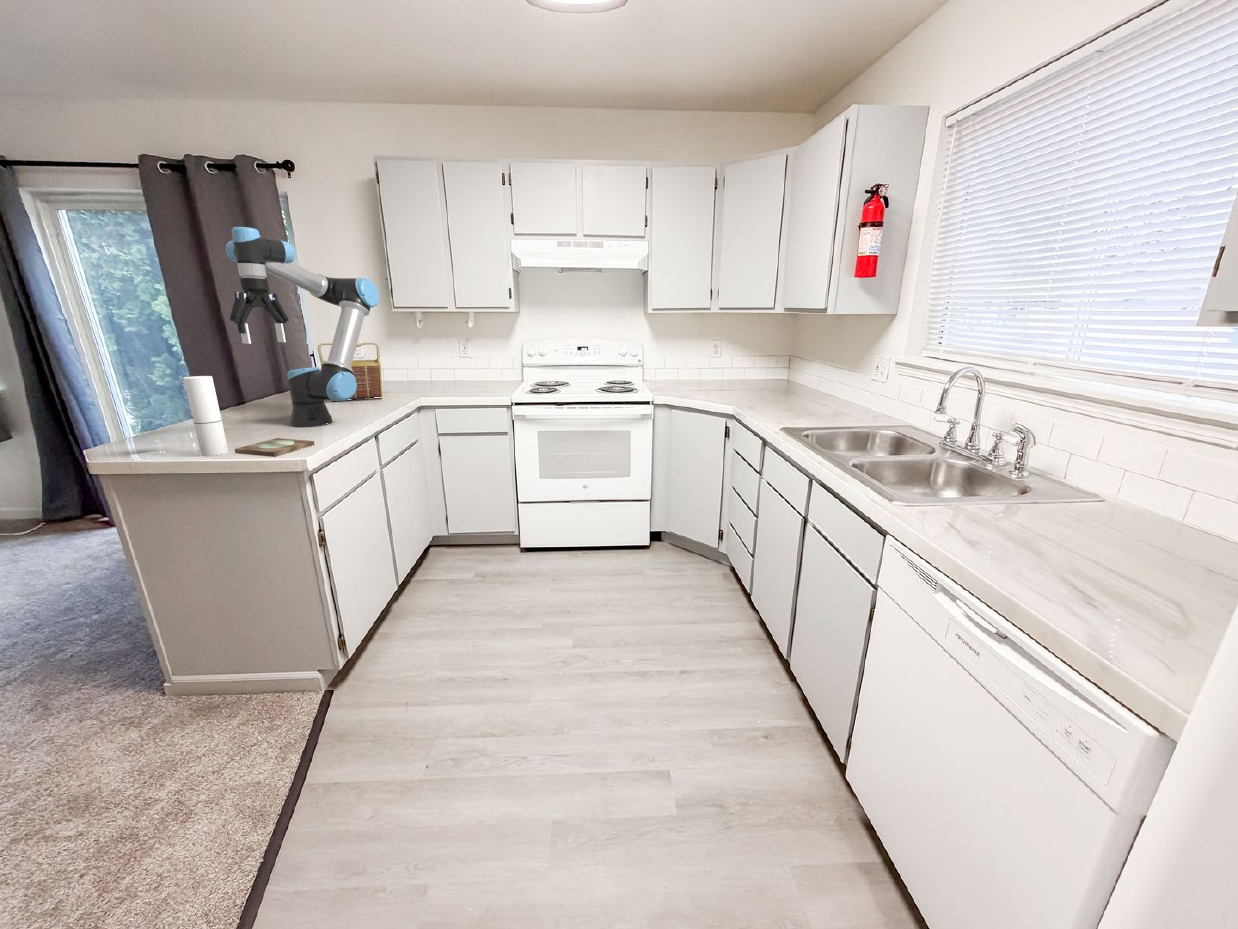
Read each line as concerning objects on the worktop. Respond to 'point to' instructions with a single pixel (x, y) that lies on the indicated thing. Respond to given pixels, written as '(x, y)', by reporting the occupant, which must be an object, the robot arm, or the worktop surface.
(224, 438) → the cylindrical container
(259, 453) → the board
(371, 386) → the picnic basket
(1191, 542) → the worktop surface
